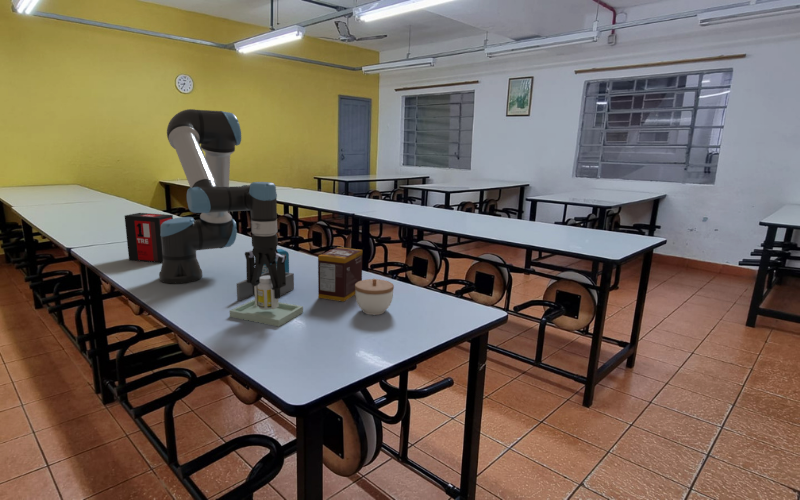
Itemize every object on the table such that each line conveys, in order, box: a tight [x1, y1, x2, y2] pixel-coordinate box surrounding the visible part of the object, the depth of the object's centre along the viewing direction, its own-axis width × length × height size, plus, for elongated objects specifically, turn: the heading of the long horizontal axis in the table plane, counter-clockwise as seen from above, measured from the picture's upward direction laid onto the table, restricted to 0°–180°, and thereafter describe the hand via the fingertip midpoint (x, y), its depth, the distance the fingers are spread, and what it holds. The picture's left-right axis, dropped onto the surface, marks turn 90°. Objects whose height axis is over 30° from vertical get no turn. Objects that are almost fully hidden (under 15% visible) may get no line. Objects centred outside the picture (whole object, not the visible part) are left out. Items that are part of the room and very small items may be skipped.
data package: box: [254, 248, 290, 273], centre depth 175 cm, size 12×4×12 cm, turn 129°
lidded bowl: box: [354, 278, 395, 316], centre depth 147 cm, size 13×13×11 cm
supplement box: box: [317, 246, 363, 303], centre depth 162 cm, size 10×15×16 cm
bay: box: [236, 271, 295, 301], centre depth 159 cm, size 10×19×6 cm, turn 160°
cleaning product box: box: [124, 212, 174, 264], centre depth 199 cm, size 16×9×20 cm, turn 80°
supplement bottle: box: [258, 276, 273, 310], centre depth 140 cm, size 5×5×10 cm
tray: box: [229, 298, 304, 327], centre depth 141 cm, size 18×13×2 cm
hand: (266, 306), depth 141 cm, fingers closed on supplement bottle, 5 cm apart
